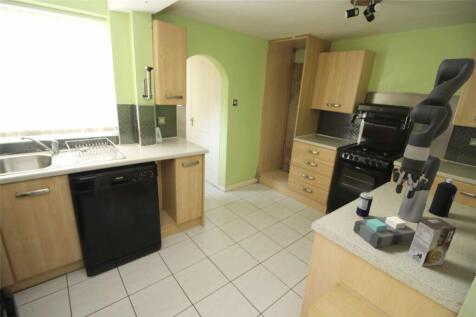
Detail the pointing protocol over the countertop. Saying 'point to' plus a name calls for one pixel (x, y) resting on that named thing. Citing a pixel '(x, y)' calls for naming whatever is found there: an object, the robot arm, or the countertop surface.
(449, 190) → the aerosol can
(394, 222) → the cream key
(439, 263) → the coffee box
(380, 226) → the teal key
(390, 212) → the countertop surface
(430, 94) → the robot arm
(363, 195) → the beverage can
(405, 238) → the key console
